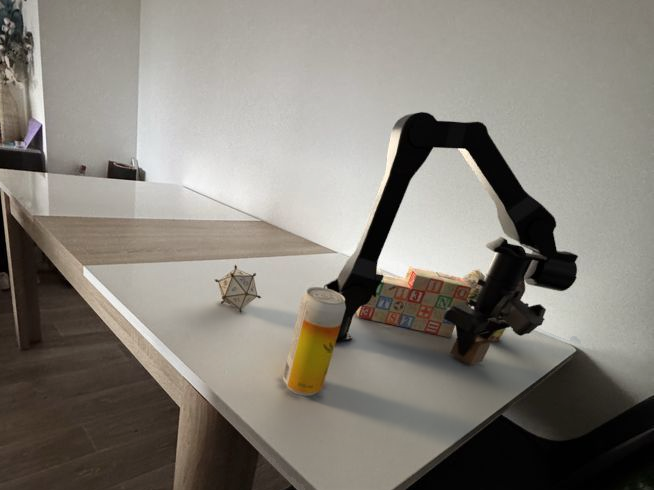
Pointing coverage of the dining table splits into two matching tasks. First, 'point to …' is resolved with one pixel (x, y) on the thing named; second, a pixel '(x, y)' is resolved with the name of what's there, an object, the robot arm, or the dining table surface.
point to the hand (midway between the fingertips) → (467, 353)
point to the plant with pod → (473, 284)
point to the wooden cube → (473, 351)
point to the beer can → (314, 340)
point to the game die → (238, 288)
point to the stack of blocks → (417, 301)
